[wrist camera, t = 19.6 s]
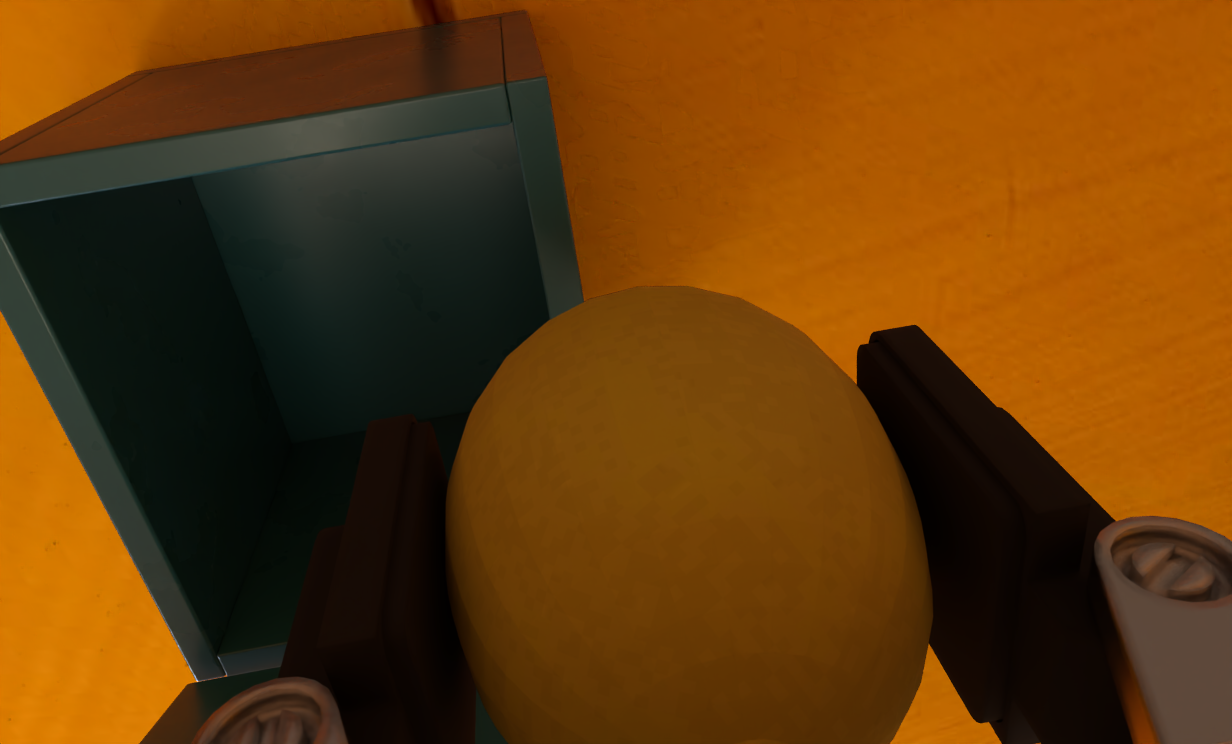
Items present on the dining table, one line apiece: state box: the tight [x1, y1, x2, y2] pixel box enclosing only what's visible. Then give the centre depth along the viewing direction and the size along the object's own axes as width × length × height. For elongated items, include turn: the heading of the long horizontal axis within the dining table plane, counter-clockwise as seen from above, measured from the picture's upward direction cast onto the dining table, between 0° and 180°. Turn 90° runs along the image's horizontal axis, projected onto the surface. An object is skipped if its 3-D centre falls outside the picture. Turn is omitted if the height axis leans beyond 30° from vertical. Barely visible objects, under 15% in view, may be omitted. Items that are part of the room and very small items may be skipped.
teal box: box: [0, 10, 584, 681], centre depth 25 cm, size 14×12×11 cm
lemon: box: [445, 286, 933, 744], centre depth 11 cm, size 6×6×8 cm
